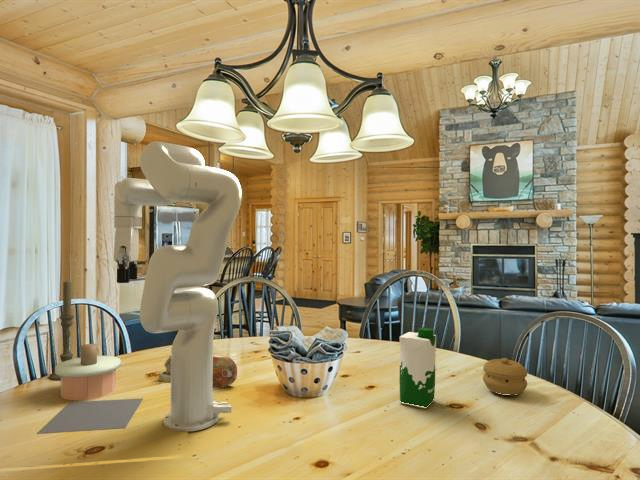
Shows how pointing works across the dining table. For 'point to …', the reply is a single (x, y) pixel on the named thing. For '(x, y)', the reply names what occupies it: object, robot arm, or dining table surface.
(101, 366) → the lid
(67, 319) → the candlestick holder
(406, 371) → the milk carton
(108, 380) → the bowl
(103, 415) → the mat
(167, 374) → the ceramic model
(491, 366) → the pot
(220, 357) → the tin
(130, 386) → the dining table surface
